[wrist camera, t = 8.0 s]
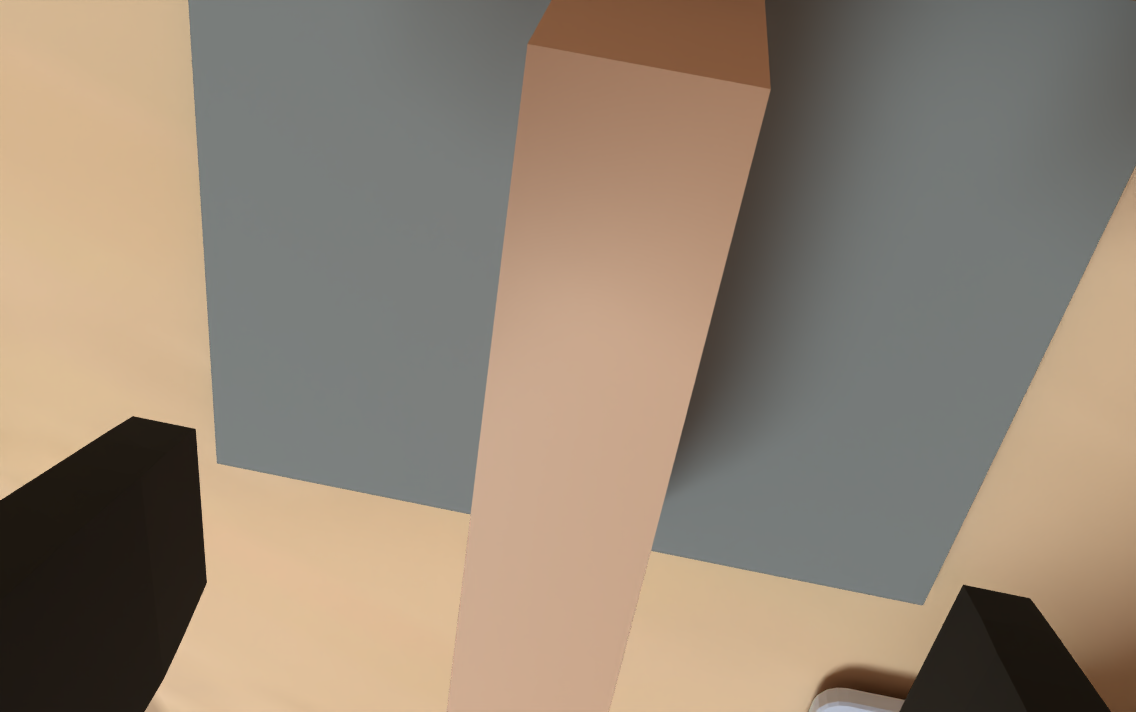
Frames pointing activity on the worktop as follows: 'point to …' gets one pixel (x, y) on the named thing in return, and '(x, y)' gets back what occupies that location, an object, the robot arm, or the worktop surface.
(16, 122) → the worktop surface
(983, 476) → the slate mat
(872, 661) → the worktop surface
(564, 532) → the dusty pink block
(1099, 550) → the worktop surface
